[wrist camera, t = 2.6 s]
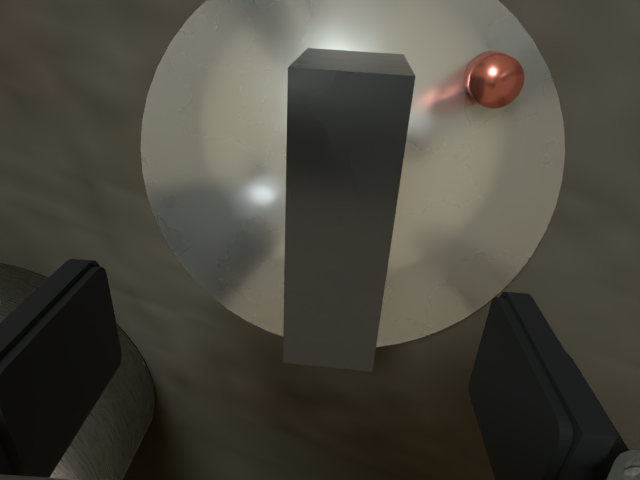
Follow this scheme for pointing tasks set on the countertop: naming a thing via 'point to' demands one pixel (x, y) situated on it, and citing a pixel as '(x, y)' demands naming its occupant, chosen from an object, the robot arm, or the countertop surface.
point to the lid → (352, 164)
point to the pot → (111, 408)
